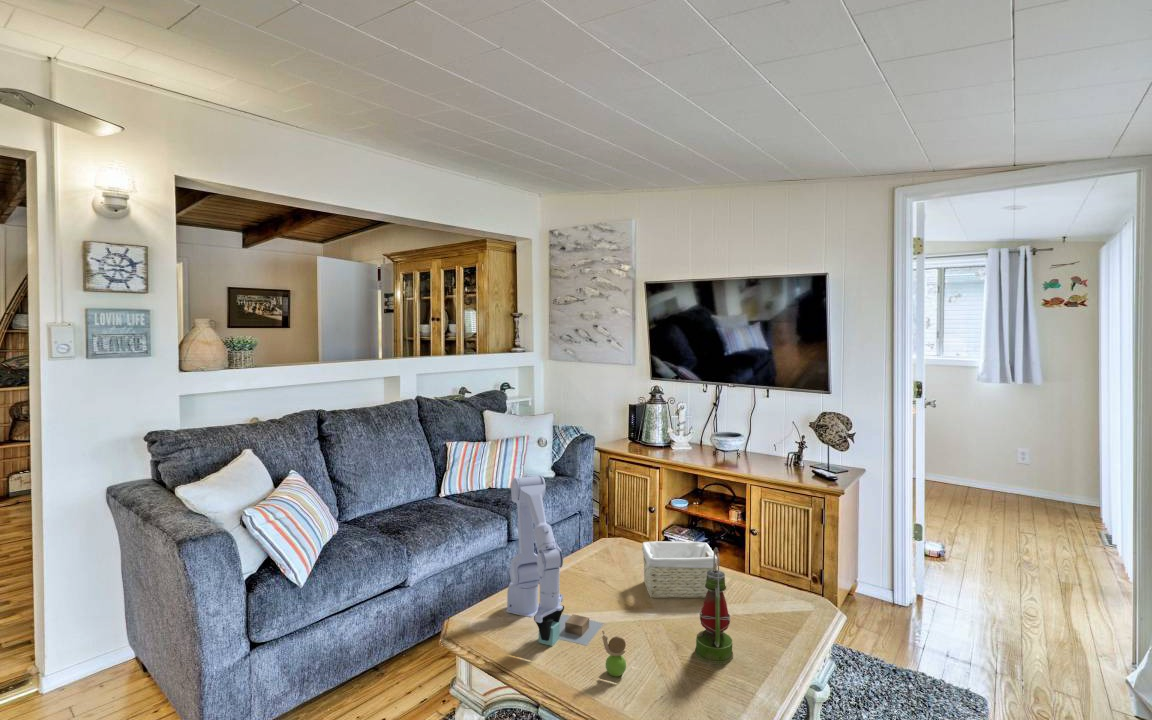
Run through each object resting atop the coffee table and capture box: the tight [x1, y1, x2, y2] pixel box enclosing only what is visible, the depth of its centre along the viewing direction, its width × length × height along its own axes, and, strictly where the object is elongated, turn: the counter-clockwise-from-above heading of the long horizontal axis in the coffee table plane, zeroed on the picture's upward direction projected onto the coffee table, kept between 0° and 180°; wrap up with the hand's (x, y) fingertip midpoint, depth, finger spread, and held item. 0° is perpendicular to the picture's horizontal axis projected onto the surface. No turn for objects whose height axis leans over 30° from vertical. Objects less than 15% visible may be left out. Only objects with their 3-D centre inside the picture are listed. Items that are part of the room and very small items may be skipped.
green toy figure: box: [601, 630, 627, 678], centre depth 157 cm, size 5×6×12 cm
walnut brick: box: [565, 613, 590, 636], centre depth 180 cm, size 6×6×3 cm
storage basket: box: [641, 540, 718, 599], centre depth 208 cm, size 24×16×15 cm
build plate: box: [559, 613, 605, 646], centre depth 180 cm, size 14×14×1 cm
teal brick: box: [537, 621, 560, 647], centre depth 173 cm, size 4×4×5 cm
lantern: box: [694, 547, 734, 665], centre depth 167 cm, size 14×11×30 cm
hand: (549, 635), depth 173 cm, fingers closed on teal brick, 5 cm apart
